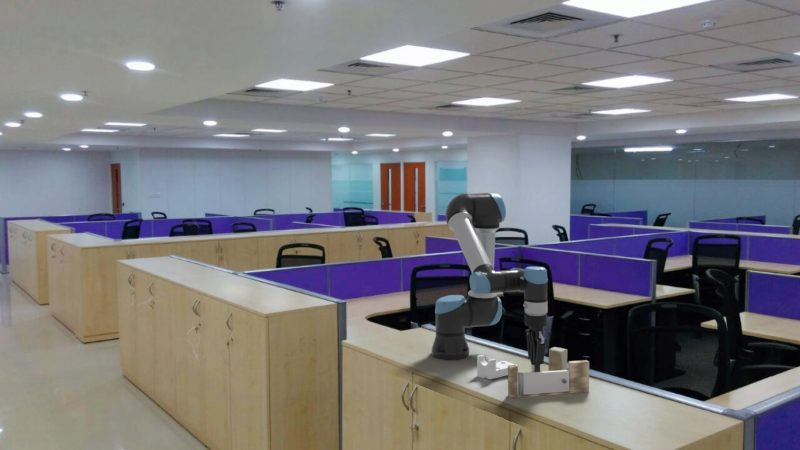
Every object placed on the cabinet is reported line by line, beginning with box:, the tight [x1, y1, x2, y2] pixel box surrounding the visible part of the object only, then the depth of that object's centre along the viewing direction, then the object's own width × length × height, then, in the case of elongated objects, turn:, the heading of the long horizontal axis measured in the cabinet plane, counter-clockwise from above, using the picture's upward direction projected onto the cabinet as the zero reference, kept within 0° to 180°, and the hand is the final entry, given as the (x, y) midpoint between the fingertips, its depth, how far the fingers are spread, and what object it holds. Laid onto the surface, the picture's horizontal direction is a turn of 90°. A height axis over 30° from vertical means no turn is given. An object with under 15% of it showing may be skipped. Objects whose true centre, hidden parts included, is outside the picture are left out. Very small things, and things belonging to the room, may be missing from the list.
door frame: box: [507, 359, 590, 399], centre depth 197 cm, size 27×3×10 cm, turn 99°
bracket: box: [476, 354, 519, 380], centre depth 217 cm, size 13×7×8 cm, turn 122°
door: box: [518, 369, 569, 395], centre depth 197 cm, size 17×2×7 cm, turn 99°
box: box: [548, 346, 568, 371], centre depth 210 cm, size 5×4×11 cm
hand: (535, 382), depth 204 cm, fingers closed
